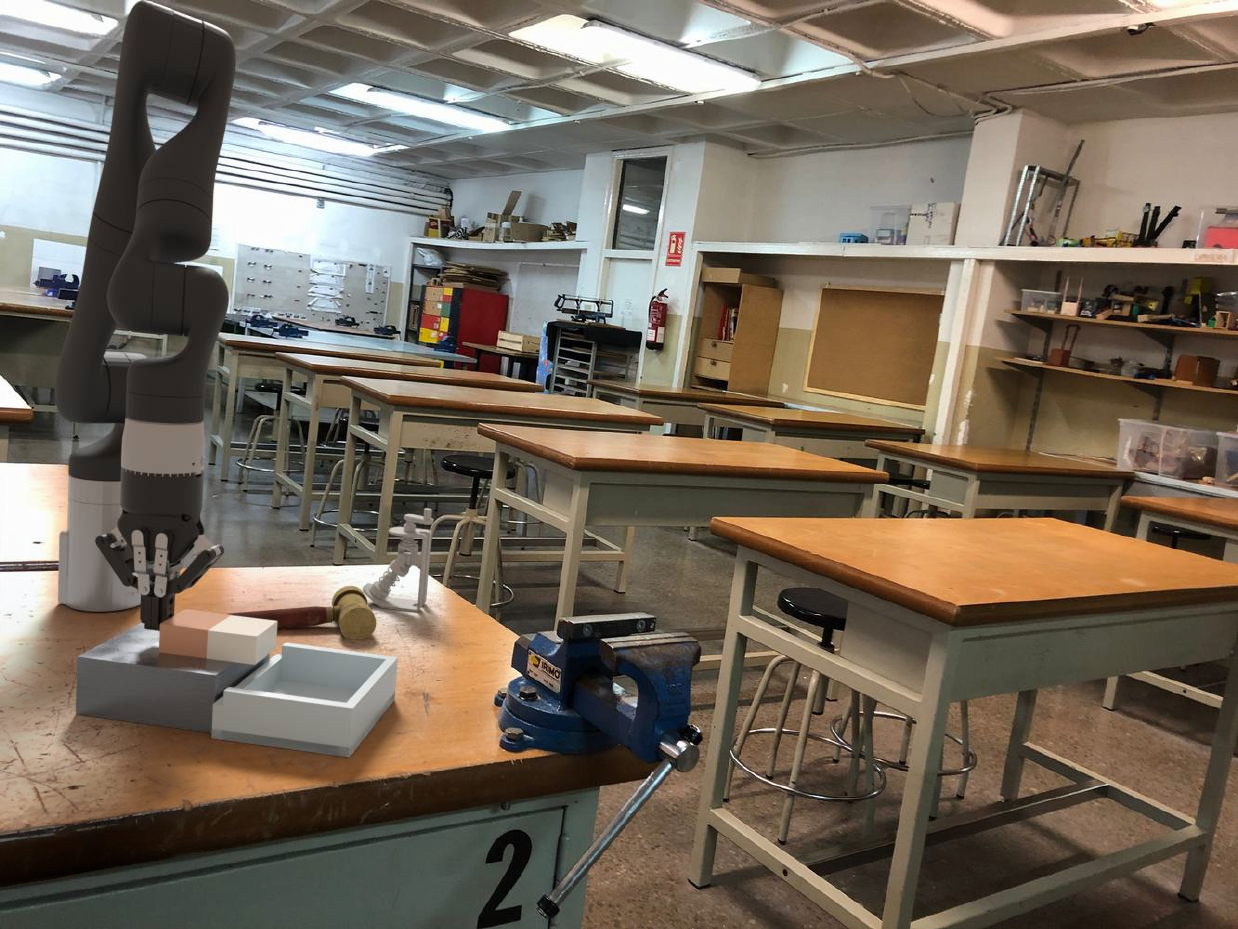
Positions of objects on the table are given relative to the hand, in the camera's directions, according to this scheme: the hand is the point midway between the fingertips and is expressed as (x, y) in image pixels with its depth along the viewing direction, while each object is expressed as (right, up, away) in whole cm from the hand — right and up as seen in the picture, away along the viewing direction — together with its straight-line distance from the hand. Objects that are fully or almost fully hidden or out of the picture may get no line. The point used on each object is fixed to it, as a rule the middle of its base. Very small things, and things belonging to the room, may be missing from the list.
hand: (157, 627), depth 95 cm
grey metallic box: (+2, -8, +1) cm, 8 cm away
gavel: (+4, -5, +25) cm, 26 cm away
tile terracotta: (+4, -2, 0) cm, 4 cm away
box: (+16, -9, 0) cm, 18 cm away
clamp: (+15, -4, +39) cm, 42 cm away
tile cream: (+9, -3, 0) cm, 9 cm away
